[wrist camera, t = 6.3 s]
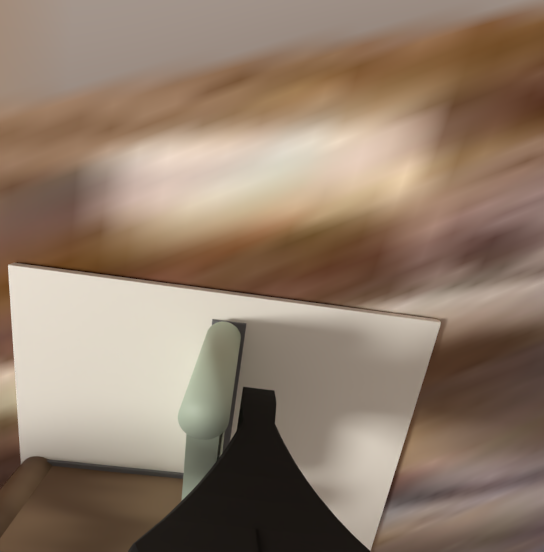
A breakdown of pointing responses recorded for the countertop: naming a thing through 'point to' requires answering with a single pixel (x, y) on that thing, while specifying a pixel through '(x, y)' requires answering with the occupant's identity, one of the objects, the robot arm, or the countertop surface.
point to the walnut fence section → (80, 508)
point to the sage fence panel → (208, 402)
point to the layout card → (250, 373)
